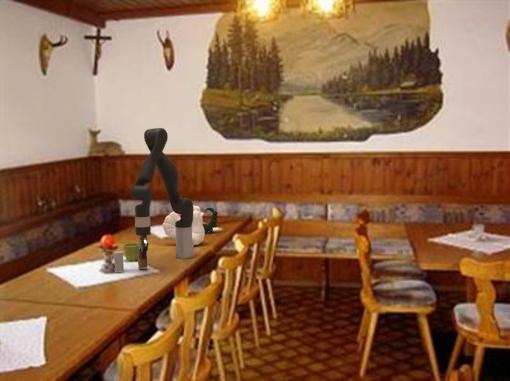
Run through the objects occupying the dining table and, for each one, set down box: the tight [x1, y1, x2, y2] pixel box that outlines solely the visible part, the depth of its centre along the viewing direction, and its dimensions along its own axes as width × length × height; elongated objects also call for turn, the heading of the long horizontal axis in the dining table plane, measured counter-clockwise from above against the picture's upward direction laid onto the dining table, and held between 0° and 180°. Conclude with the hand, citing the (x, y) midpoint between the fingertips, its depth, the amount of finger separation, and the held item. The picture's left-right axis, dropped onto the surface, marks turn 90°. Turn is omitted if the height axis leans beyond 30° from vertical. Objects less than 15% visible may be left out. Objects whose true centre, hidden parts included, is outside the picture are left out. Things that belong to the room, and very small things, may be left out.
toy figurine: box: [202, 207, 219, 235], centre depth 373 cm, size 9×19×25 cm
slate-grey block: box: [113, 250, 125, 273], centre depth 275 cm, size 4×4×10 cm
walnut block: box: [137, 248, 149, 270], centre depth 281 cm, size 4×4×10 cm
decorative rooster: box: [162, 204, 206, 246], centre depth 336 cm, size 25×16×25 cm, turn 80°
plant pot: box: [122, 242, 140, 262], centre depth 299 cm, size 9×9×9 cm
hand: (144, 258), depth 277 cm, fingers closed
